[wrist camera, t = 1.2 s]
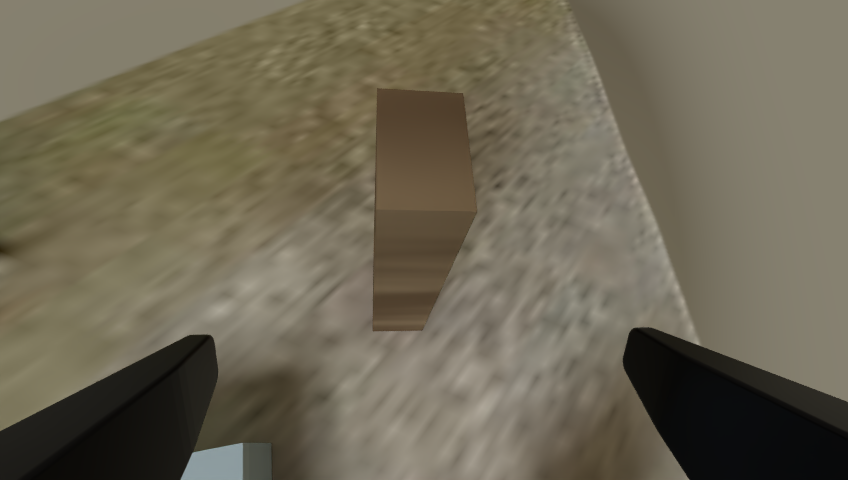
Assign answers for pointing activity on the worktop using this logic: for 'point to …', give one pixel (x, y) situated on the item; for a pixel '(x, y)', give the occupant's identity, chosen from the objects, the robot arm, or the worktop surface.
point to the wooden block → (418, 202)
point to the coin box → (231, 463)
